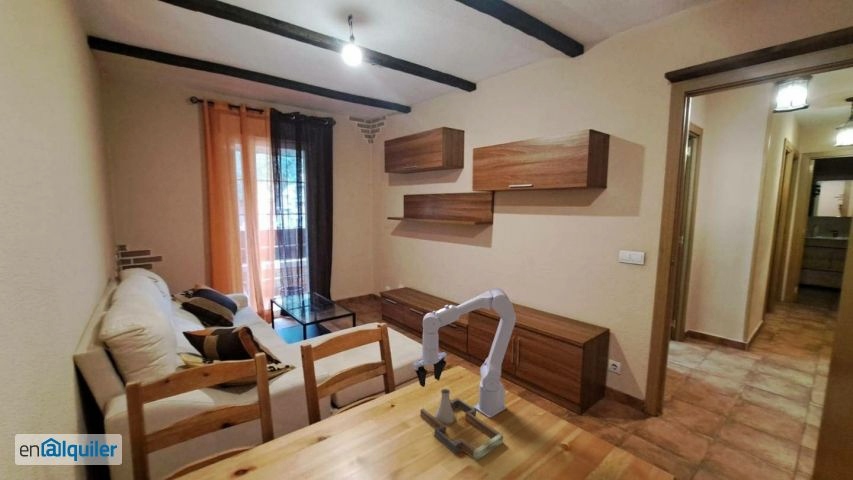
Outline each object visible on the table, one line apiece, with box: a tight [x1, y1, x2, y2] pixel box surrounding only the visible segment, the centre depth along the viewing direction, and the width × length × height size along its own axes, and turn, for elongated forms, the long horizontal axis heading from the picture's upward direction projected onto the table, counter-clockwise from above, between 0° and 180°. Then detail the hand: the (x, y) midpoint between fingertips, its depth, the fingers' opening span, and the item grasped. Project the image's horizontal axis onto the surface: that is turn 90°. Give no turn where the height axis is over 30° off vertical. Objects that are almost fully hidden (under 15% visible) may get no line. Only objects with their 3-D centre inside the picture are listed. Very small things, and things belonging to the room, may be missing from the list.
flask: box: [434, 388, 456, 425], centre depth 119 cm, size 7×7×10 cm
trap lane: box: [420, 397, 504, 462], centre depth 114 cm, size 18×26×2 cm
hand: (429, 382), depth 125 cm, fingers open, 6 cm apart
